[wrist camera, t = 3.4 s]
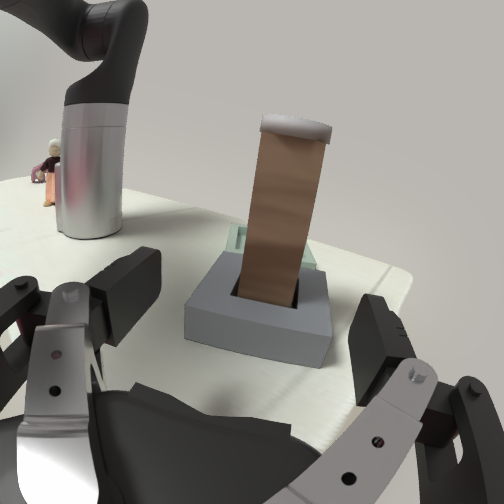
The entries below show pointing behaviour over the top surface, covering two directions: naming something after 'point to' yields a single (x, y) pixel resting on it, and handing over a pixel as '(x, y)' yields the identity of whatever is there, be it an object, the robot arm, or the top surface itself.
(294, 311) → the charcoal holder
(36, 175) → the video game controller
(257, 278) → the dark wooden pin
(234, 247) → the sage green tray
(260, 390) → the top surface
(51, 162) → the grandmother figurine
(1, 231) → the top surface
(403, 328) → the robot arm
